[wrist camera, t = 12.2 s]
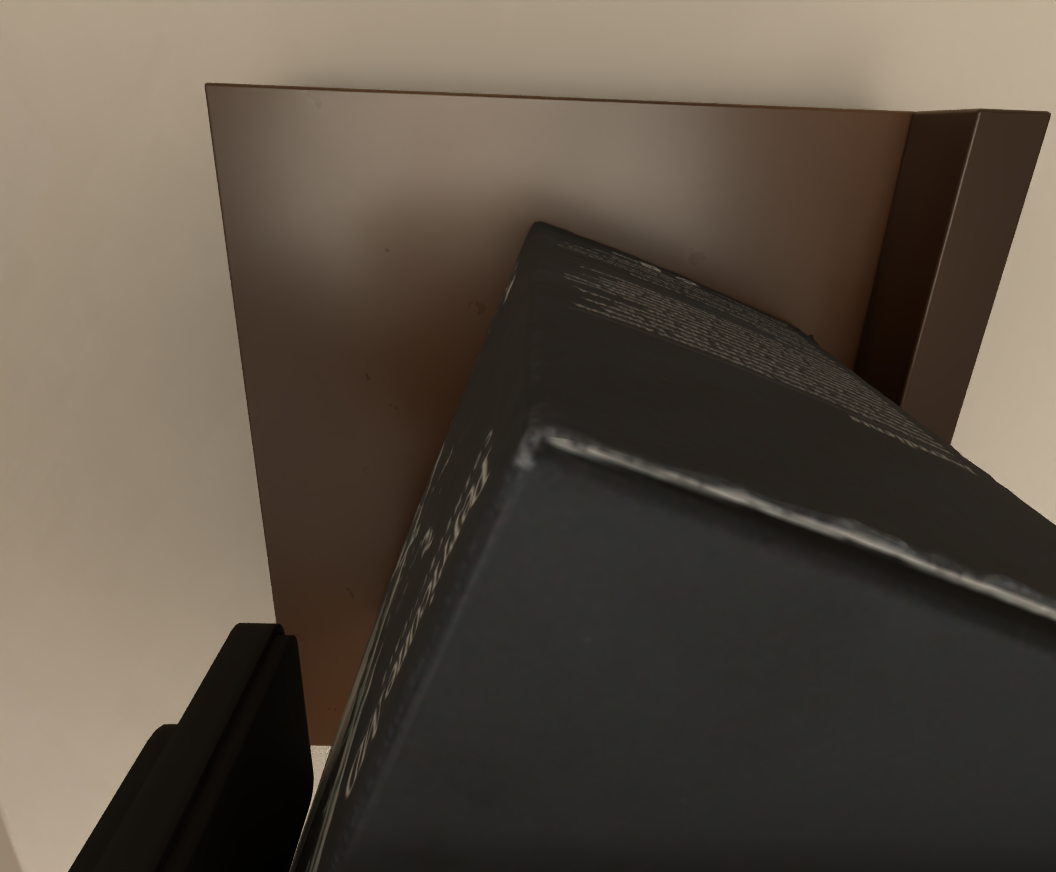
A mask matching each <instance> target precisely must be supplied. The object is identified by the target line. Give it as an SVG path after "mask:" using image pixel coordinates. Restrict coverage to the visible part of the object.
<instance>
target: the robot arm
mask: <svg viewBox="0 0 1056 872" xmlns="http://www.w3.org/2000/svg"><path fill="white" fill-rule="evenodd" d="M313 782H314V776H313V766H312V758H311V749H310V741H309V733H308V724H307V716H306V707H305V699H304V691H303V682H302V674H301V666H300V657H299V649H298V642H297V638H296V636H295V635H285V632H284V628H283V627H282V625H281V624H265V623H238V624H237V625H235V627H234V628H233V629H232V631H231V632H230V634H229V636H228V638H227V639H226V641H225V643H224V645H223V646H222V648H221V650H220V652H219V653H218V655H217V657H216V659H215V660H214V662H213V664H212V665H211V667H210V669H209V671H208V672H207V674H206V676H205V678H204V679H203V681H202V683H201V685H200V686H199V688H198V690H197V692H196V693H195V695H194V697H193V699H192V700H191V702H190V704H189V706H188V707H187V709H186V711H185V713H184V714H183V716H182V718H181V720H180V721H179V723H178V724H164V725H162V726H161V727H159V728H158V729H157V730H155V732H154V733H153V734H152V736H151V737H150V738H149V740H148V741H147V743H146V744H145V746H144V748H143V749H142V751H141V753H140V754H139V756H138V757H137V759H136V761H135V762H134V764H133V766H132V767H131V769H130V771H129V772H128V774H127V776H126V777H125V779H124V781H123V782H122V784H121V785H120V787H119V789H118V790H117V792H116V794H115V795H114V797H113V799H112V800H111V802H110V804H109V805H108V807H107V809H106V810H105V812H104V813H103V815H102V817H101V818H100V820H99V822H98V823H97V825H96V827H95V828H94V830H93V832H92V833H91V835H90V837H89V838H88V840H87V841H86V843H85V845H84V846H83V848H82V850H81V851H80V853H79V855H78V856H77V858H76V860H75V861H74V863H73V865H72V866H71V868H70V869H69V871H68V872H289V871H290V868H291V864H292V861H293V858H294V855H295V851H296V848H297V845H298V842H299V838H300V835H301V832H302V829H303V826H304V822H305V819H306V816H307V813H308V809H309V806H310V802H311V798H312V793H313Z"/></svg>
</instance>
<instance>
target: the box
mask: <svg viewBox="0 0 1056 872" xmlns="http://www.w3.org/2000/svg"><path fill="white" fill-rule="evenodd" d="M289 872H1056V525H1054V524H1053V523H1052V522H1050V521H1049V520H1048V519H1046V518H1045V517H1044V516H1042V515H1041V514H1040V513H1038V512H1037V511H1036V510H1034V509H1033V508H1031V507H1030V506H1029V505H1027V504H1026V503H1025V502H1023V501H1022V500H1021V499H1019V498H1018V497H1017V496H1016V495H1014V494H1013V493H1012V492H1011V491H1009V490H1008V489H1007V488H1005V487H1004V486H1002V485H1001V484H999V483H998V482H996V481H995V480H994V479H993V478H992V477H991V476H990V475H989V474H988V473H986V472H985V471H983V470H982V469H980V468H979V467H977V466H976V465H974V464H973V463H972V462H970V461H969V460H967V459H966V458H964V457H963V456H962V455H961V454H960V453H959V452H958V451H957V450H955V449H954V448H953V447H952V446H951V445H950V444H949V443H947V442H946V441H945V440H943V439H942V438H940V437H939V436H937V435H936V434H935V433H933V432H932V431H931V430H930V429H929V428H927V427H925V426H923V425H922V424H921V423H920V422H919V421H918V420H917V419H915V418H913V417H912V416H910V415H909V414H908V413H907V412H906V411H904V410H903V409H902V408H900V407H899V406H898V405H897V404H895V403H894V402H893V401H892V400H890V399H888V398H887V397H885V396H884V395H883V394H882V393H880V392H879V391H878V390H876V389H875V388H873V387H872V386H870V385H869V384H868V383H866V382H865V381H864V380H863V379H862V378H860V377H859V376H858V375H857V374H855V373H854V372H853V371H852V370H850V369H849V368H847V367H846V366H845V365H844V364H842V363H841V362H839V361H838V360H837V359H835V358H834V357H833V356H832V355H831V354H829V353H828V352H826V351H825V350H823V349H822V348H821V347H820V346H819V345H818V343H817V342H816V341H815V340H814V336H813V335H812V334H811V335H809V336H808V335H806V334H805V333H803V332H802V331H801V330H800V329H799V328H797V327H795V326H793V325H790V324H788V323H786V322H784V321H782V320H779V319H777V318H774V317H772V316H770V315H769V314H767V313H765V312H762V311H760V310H758V309H755V308H753V307H751V306H748V305H746V304H744V303H741V302H739V301H737V300H735V299H733V298H731V297H729V296H726V295H724V294H722V293H720V292H718V291H715V290H713V289H710V288H708V287H705V286H703V285H701V284H699V283H697V282H695V281H693V280H690V279H688V278H686V277H684V276H682V275H679V274H677V273H675V272H671V271H668V270H665V269H663V268H660V267H658V266H655V265H653V264H650V263H648V262H646V261H643V260H641V259H639V258H637V257H635V256H633V255H630V254H627V253H624V252H621V251H619V250H617V249H614V248H611V247H608V246H606V245H603V244H601V243H598V242H595V241H593V240H590V239H587V238H584V237H580V236H578V235H575V234H573V233H571V232H569V231H567V230H564V229H561V228H558V227H555V226H552V225H549V224H547V223H545V222H535V223H534V224H533V225H532V227H531V228H530V230H529V232H528V234H527V237H526V239H525V241H524V244H523V246H522V248H521V251H520V253H519V255H518V258H517V260H516V263H515V266H514V269H513V272H512V274H511V276H510V279H509V281H508V283H507V286H506V289H505V291H504V294H503V296H502V299H501V301H500V304H499V306H498V308H497V311H496V313H495V315H494V318H493V320H492V323H491V325H490V328H489V331H488V333H487V336H486V339H485V341H484V343H483V346H482V349H481V352H480V354H479V356H478V359H477V361H476V364H475V366H474V369H473V371H472V374H471V376H470V379H469V381H468V383H467V386H466V389H465V391H464V394H463V396H462V399H461V401H460V403H459V406H458V408H457V410H456V413H455V416H454V418H453V421H452V423H451V426H450V429H449V431H448V434H447V437H446V439H445V442H444V444H443V446H442V449H441V451H440V454H439V456H438V459H437V461H436V464H435V466H434V469H433V471H432V474H431V476H430V479H429V481H428V484H427V486H426V489H425V491H424V494H423V496H422V498H421V500H420V503H419V506H418V508H417V511H416V514H415V516H414V519H413V522H412V524H411V527H410V529H409V532H408V534H407V537H406V540H405V542H404V545H403V547H402V550H401V553H400V556H399V559H398V561H397V564H396V567H395V569H394V572H393V574H392V577H391V580H390V582H389V585H388V588H387V590H386V593H385V596H384V599H383V601H382V604H381V607H380V609H379V612H378V615H377V617H376V620H375V623H374V625H373V628H372V631H371V633H370V636H369V639H368V642H367V645H366V648H365V651H364V654H363V657H362V660H361V663H360V665H359V668H358V671H357V674H356V676H355V679H354V682H353V686H352V689H351V692H350V695H349V698H348V700H347V704H346V707H345V710H344V712H343V716H342V719H341V722H340V724H339V727H338V730H337V733H336V736H335V739H334V741H333V744H332V747H331V749H330V752H329V755H328V758H327V761H326V764H325V767H324V770H323V773H322V776H321V779H320V782H319V785H318V788H317V791H316V794H315V797H314V800H313V803H312V806H311V809H310V812H309V815H308V818H307V821H306V824H305V826H304V829H303V832H302V835H301V838H300V841H299V844H298V847H297V850H296V853H295V856H294V859H293V862H292V865H291V868H290V871H289Z"/></svg>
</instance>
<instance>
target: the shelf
mask: <svg viewBox="0 0 1056 872" xmlns="http://www.w3.org/2000/svg"><path fill="white" fill-rule="evenodd" d="M205 92H206V100H207V107H208V115H209V122H210V130H211V137H212V145H213V152H214V160H215V167H216V175H217V182H218V190H219V197H220V205H221V212H222V220H223V227H224V235H225V242H226V250H227V257H228V265H229V272H230V280H231V287H232V295H233V302H234V309H235V317H236V324H237V332H238V339H239V347H240V354H241V362H242V369H243V377H244V384H245V392H246V399H247V407H248V414H249V422H250V429H251V437H252V444H253V452H254V459H255V467H256V474H257V482H258V489H259V497H260V504H261V512H262V519H263V527H264V534H265V542H266V549H267V557H268V564H269V572H270V579H271V587H272V594H273V601H274V609H275V616H276V624H281V625H282V627H283V628H284V632H285V635H295V636H296V638H297V642H298V649H299V657H300V666H301V674H302V682H303V691H304V699H305V707H306V716H307V724H308V733H309V741H310V745H313V746H332V744H333V741H334V739H335V736H336V733H337V730H338V727H339V724H340V722H341V719H342V716H343V712H344V710H345V707H346V704H347V700H348V698H349V695H350V692H351V689H352V686H353V682H354V679H355V676H356V674H357V671H358V668H359V665H360V663H361V660H362V657H363V654H364V651H365V648H366V645H367V642H368V639H369V636H370V633H371V631H372V628H373V625H374V623H375V620H376V617H377V615H378V612H379V609H380V607H381V604H382V601H383V599H384V596H385V593H386V590H387V588H388V585H389V582H390V580H391V577H392V574H393V572H394V569H395V567H396V564H397V561H398V559H399V556H400V553H401V550H402V547H403V545H404V542H405V540H406V537H407V534H408V532H409V529H410V527H411V524H412V522H413V519H414V516H415V514H416V511H417V508H418V506H419V503H420V500H421V498H422V496H423V494H424V491H425V489H426V486H427V484H428V481H429V479H430V476H431V474H432V471H433V469H434V466H435V464H436V461H437V459H438V456H439V454H440V451H441V449H442V446H443V444H444V442H445V439H446V437H447V434H448V431H449V429H450V426H451V423H452V421H453V418H454V416H455V413H456V410H457V408H458V406H459V403H460V401H461V399H462V396H463V394H464V391H465V389H466V386H467V383H468V381H469V379H470V376H471V374H472V371H473V369H474V366H475V364H476V361H477V359H478V356H479V354H480V352H481V349H482V346H483V343H484V341H485V339H486V336H487V333H488V331H489V328H490V325H491V323H492V320H493V318H494V315H495V313H496V311H497V308H498V306H499V304H500V301H501V299H502V296H503V294H504V291H505V289H506V286H507V283H508V281H509V279H510V276H511V274H512V272H513V269H514V266H515V263H516V260H517V258H518V255H519V253H520V251H521V248H522V246H523V244H524V241H525V239H526V237H527V234H528V232H529V230H530V228H531V227H532V225H533V224H534V223H535V222H545V223H547V224H549V225H552V226H555V227H558V228H561V229H564V230H567V231H569V232H571V233H573V234H575V235H578V236H580V237H584V238H587V239H590V240H593V241H595V242H598V243H601V244H603V245H606V246H608V247H611V248H614V249H617V250H619V251H621V252H624V253H627V254H630V255H633V256H635V257H637V258H639V259H641V260H643V261H646V262H648V263H650V264H653V265H655V266H658V267H660V268H663V269H665V270H668V271H671V272H675V273H677V274H679V275H682V276H684V277H686V278H688V279H690V280H693V281H695V282H697V283H699V284H701V285H703V286H705V287H708V288H710V289H713V290H715V291H718V292H720V293H722V294H724V295H726V296H729V297H731V298H733V299H735V300H737V301H739V302H741V303H744V304H746V305H748V306H751V307H753V308H755V309H758V310H760V311H762V312H765V313H767V314H769V315H770V316H772V317H774V318H777V319H779V320H782V321H784V322H786V323H788V324H790V325H793V326H795V327H797V328H799V329H800V330H801V331H802V332H803V333H805V334H806V335H808V336H809V335H811V334H812V335H813V336H814V340H815V341H816V342H817V343H818V345H819V346H820V347H821V348H822V349H823V350H825V351H826V352H828V353H829V354H831V355H832V356H833V357H834V358H835V359H837V360H838V361H839V362H841V363H842V364H844V365H845V366H846V367H847V368H849V369H850V370H852V371H853V372H854V373H855V374H857V375H858V376H859V377H860V378H862V379H863V380H864V381H865V382H866V383H868V384H869V385H870V386H872V387H873V388H875V389H876V390H878V391H879V392H880V393H882V394H883V395H884V396H885V397H887V398H888V399H890V400H892V401H893V402H894V403H895V404H897V405H898V406H899V407H900V408H902V409H903V410H904V411H906V412H907V413H908V414H909V415H910V416H912V417H913V418H915V419H917V420H918V421H919V422H920V423H921V424H922V425H923V426H925V427H927V428H929V429H930V430H931V431H932V432H933V433H935V434H936V435H937V436H939V437H940V438H942V439H943V440H945V441H946V442H947V443H949V444H951V441H952V437H953V434H954V431H955V427H956V424H957V421H958V418H959V414H960V411H961V408H962V405H963V401H964V398H965V395H966V391H967V388H968V385H969V382H970V378H971V375H972V372H973V369H974V365H975V362H976V359H977V355H978V352H979V349H980V346H981V342H982V339H983V336H984V333H985V329H986V326H987V323H988V320H989V316H990V313H991V310H992V306H993V303H994V300H995V297H996V293H997V290H998V287H999V284H1000V280H1001V277H1002V274H1003V270H1004V267H1005V264H1006V261H1007V257H1008V254H1009V251H1010V248H1011V244H1012V241H1013V238H1014V234H1015V231H1016V228H1017V225H1018V221H1019V218H1020V215H1021V212H1022V208H1023V205H1024V202H1025V198H1026V195H1027V192H1028V189H1029V185H1030V182H1031V179H1032V176H1033V172H1034V169H1035V166H1036V162H1037V159H1038V156H1039V153H1040V149H1041V146H1042V143H1043V140H1044V136H1045V133H1046V130H1047V127H1048V123H1049V120H1050V117H1051V113H1049V112H1047V111H1026V110H1002V109H961V110H938V111H918V112H913V111H888V110H864V109H839V108H815V107H790V106H766V105H741V104H717V103H692V102H668V101H643V100H619V99H594V98H570V97H545V96H521V95H496V94H472V93H447V92H422V91H398V90H373V89H349V88H324V87H300V86H275V85H251V84H226V83H206V84H205Z"/></svg>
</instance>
